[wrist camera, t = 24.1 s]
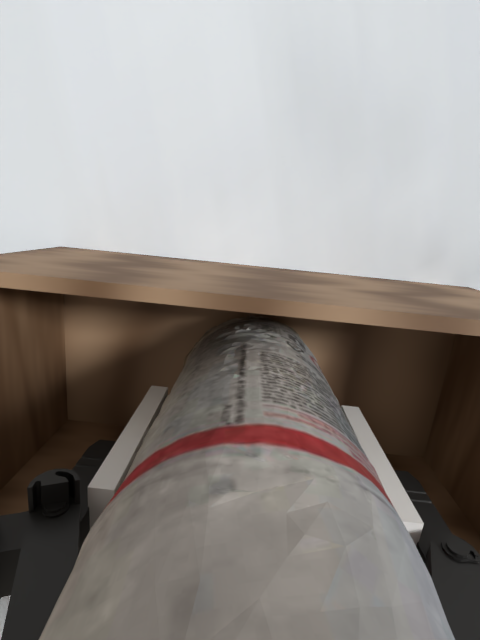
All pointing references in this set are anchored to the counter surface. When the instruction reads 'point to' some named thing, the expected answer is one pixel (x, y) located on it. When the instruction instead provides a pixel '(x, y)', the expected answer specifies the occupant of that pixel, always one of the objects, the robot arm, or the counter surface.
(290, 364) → the spray can
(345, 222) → the counter surface
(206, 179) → the counter surface
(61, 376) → the wooden box
